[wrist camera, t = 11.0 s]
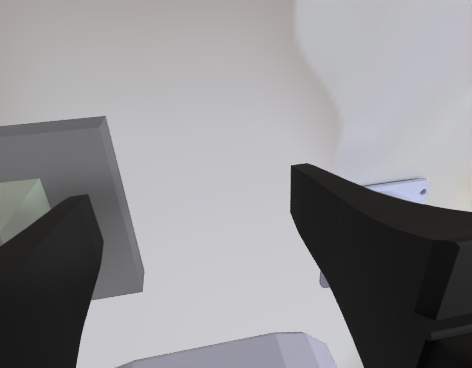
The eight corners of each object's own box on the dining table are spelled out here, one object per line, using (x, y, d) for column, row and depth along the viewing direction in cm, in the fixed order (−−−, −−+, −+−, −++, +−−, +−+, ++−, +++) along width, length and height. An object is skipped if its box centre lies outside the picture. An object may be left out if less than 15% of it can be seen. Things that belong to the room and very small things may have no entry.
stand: (144, 271, 25) (142, 291, 23) (-30, 299, 23) (-46, 323, 22) (105, 115, 19) (99, 127, 17) (-130, 139, 17) (-163, 154, 16)
